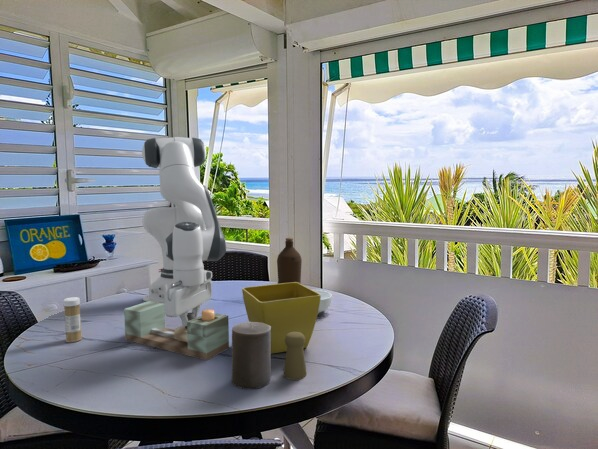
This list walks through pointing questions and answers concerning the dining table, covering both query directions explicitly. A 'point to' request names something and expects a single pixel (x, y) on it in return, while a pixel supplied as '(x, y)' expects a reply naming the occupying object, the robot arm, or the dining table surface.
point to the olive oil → (289, 264)
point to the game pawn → (295, 356)
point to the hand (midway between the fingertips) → (190, 322)
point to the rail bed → (151, 331)
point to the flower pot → (283, 310)
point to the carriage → (183, 330)
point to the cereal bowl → (324, 300)
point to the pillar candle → (251, 355)
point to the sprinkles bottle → (72, 319)
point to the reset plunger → (208, 315)
